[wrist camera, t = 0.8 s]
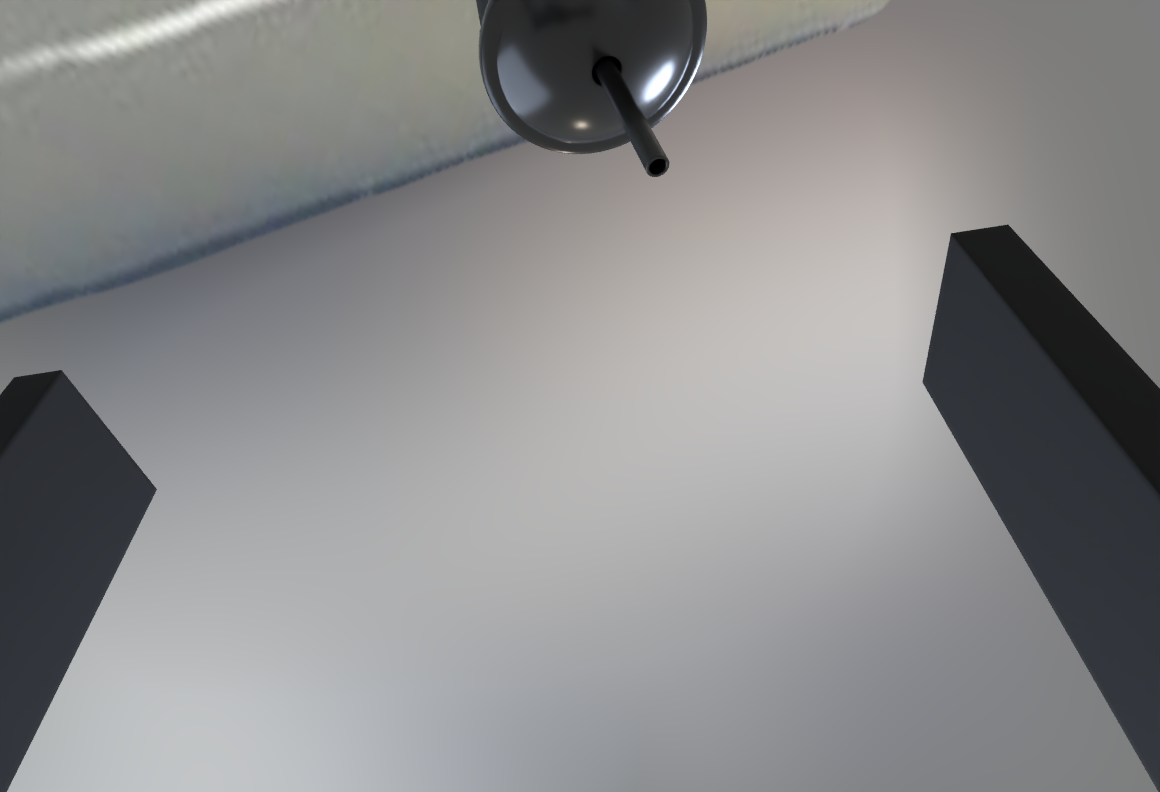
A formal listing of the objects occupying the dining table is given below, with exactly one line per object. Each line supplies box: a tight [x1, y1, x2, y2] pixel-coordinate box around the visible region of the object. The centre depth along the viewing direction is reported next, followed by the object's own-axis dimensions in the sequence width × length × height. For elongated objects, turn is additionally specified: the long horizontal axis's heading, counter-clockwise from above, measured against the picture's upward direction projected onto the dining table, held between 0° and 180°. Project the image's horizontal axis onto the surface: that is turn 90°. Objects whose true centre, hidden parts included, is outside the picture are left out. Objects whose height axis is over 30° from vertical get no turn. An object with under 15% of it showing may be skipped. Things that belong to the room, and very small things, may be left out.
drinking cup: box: [476, 0, 707, 177], centre depth 27 cm, size 8×8×20 cm
